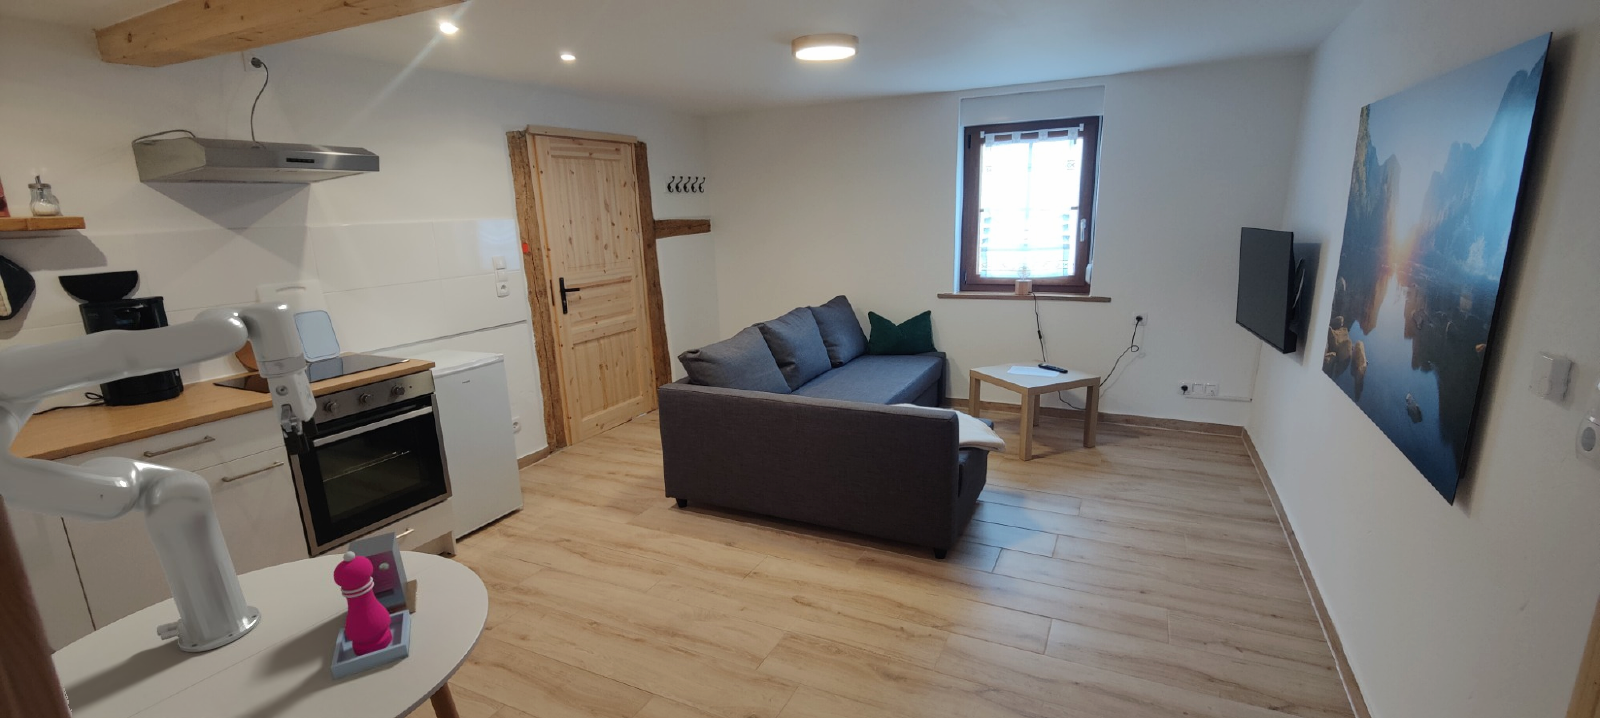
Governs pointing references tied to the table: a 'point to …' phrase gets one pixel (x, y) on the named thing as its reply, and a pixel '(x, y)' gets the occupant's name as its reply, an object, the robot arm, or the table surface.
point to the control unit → (387, 572)
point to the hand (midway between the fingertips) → (304, 444)
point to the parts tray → (351, 663)
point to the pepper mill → (362, 606)
